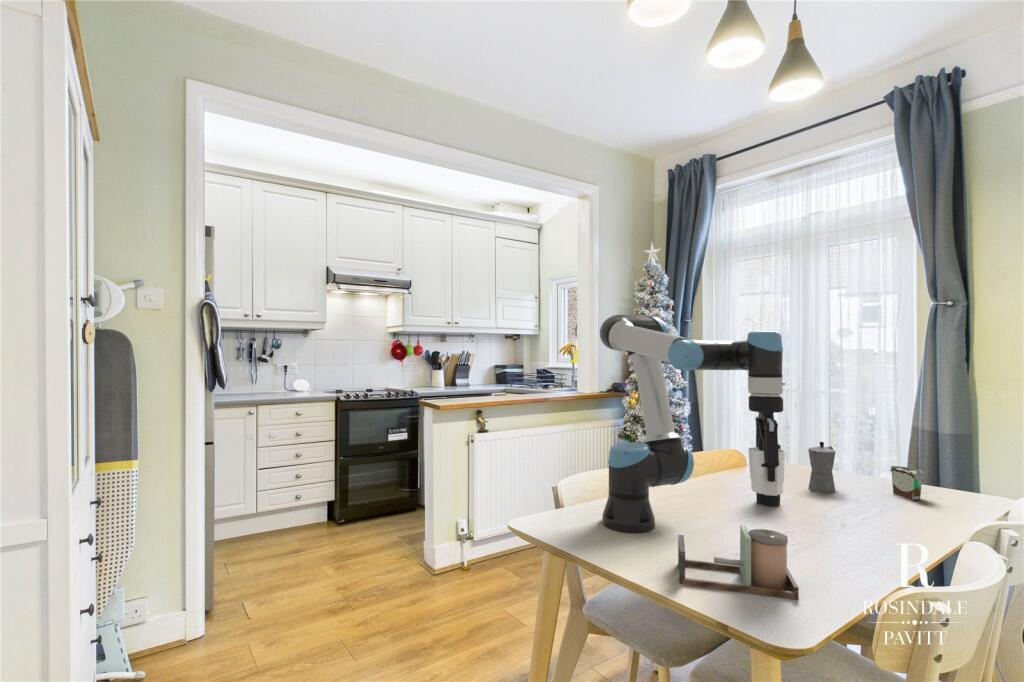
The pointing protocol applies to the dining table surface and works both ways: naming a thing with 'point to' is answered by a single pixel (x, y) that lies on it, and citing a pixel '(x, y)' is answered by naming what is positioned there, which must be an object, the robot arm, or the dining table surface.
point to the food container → (907, 482)
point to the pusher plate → (741, 556)
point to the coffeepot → (822, 469)
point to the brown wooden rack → (727, 586)
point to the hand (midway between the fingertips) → (767, 490)
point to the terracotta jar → (768, 559)
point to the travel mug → (768, 497)
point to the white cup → (758, 471)
